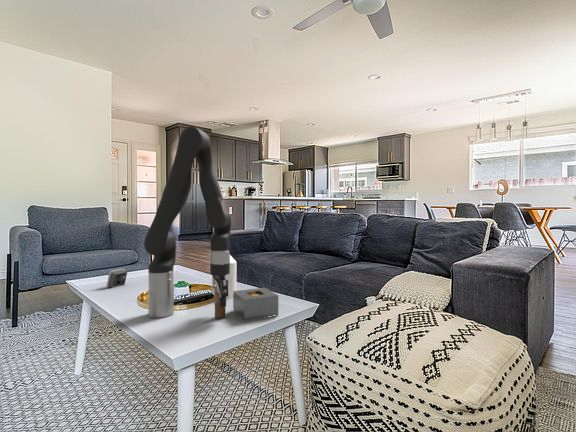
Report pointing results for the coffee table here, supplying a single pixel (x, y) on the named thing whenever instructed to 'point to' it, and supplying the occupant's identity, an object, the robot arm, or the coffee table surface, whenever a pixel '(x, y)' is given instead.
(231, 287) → the bottle
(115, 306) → the coffee table surface
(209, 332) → the coffee table surface
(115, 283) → the electrical switch
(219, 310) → the brown wooden block
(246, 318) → the box
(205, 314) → the coffee table surface
